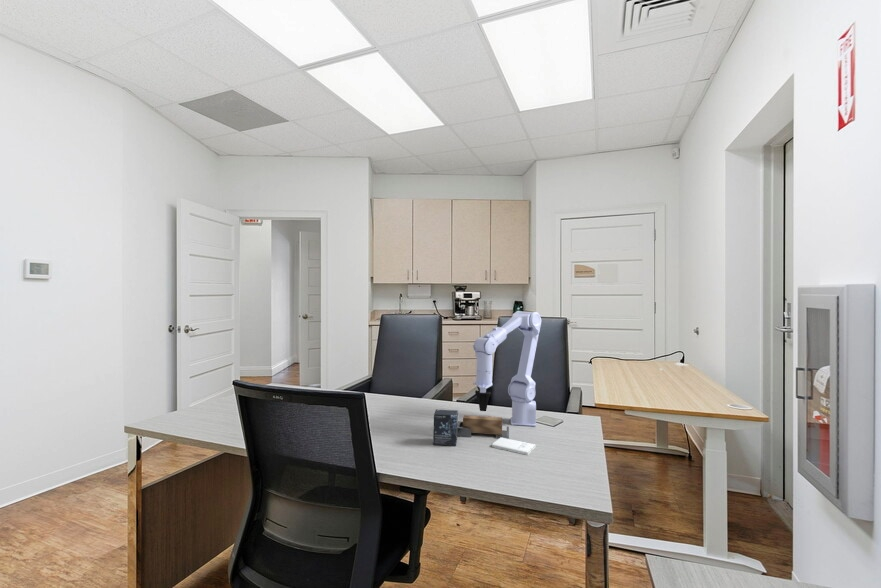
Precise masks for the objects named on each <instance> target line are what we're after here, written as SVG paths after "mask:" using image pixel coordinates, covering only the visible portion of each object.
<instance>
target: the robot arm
mask: <svg viewBox="0 0 881 588" xmlns="http://www.w3.org/2000/svg"><path fill="white" fill-rule="evenodd" d="M541 326H542V318H541V315H540V313H539V312H537V311H521V310H517V311H515V312H514V313H513V314H512V315H511V318H510V319H508V320H507V321H506V322H505V323H504V324H503V325H502V326H494V327H493V328H492V330H490V331H489V332H488V333H485V334H484V336H480V337H478V338H476V339H475V341H474V343H473V345H472V346H473V347H472V348H473V350H474V352H475V355H474V356H475V357H476V365H475V366H476V372H475V373H476V377H475V378H476V379H475V380H476V381H473V382H472V385H474V386H475V385H476V387H477V389H478V390H475V391H474V394H475V396H476V398H477V400H478V401H477V402H478V407H479V411H480V412H486V411H487V409H488V403H489V398H490V397H491V396H492V392H491V390H492V389H493V354H495V352H496V350H497V348H498V346H499V345H500V344H502V343H503V342H504V341H506V340H507V337H508V334H510V333H511V332H512V331H513V332H514V330H516V329H518V330H519V331H520V332H522V335H523V336H524V338H523V344H522V348H521V354H520V359H519V362H518V363H519V364H518V369H517V373H516V374H515V375H514V376H513V377H511V380H510V383H509V384H508V388H507V392H508V395H509V396H510V399H511V404H512V405H511V417H510V424H511V425H513V426H514V425H515V426H528V427H536V423H537V403H536V401H535V400H534V399H535V397H536V385H537V384H536V383H537V382H536V381H535V380H534V379H533V378H532V372H533V367H534V361H535V355H536V352H537V351H536V350H537V345H538V341H539V334H540V331H541Z"/></svg>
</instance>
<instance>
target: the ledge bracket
mask: <svg viewBox="0 0 881 588" xmlns="http://www.w3.org/2000/svg"><path fill="white" fill-rule="evenodd" d="M509 434H510V426H506V430H504V429H502V435H500V434H495V439H499V438H500V437H502V438H507V439H510V438H509V436H510V435H509Z"/></svg>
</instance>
